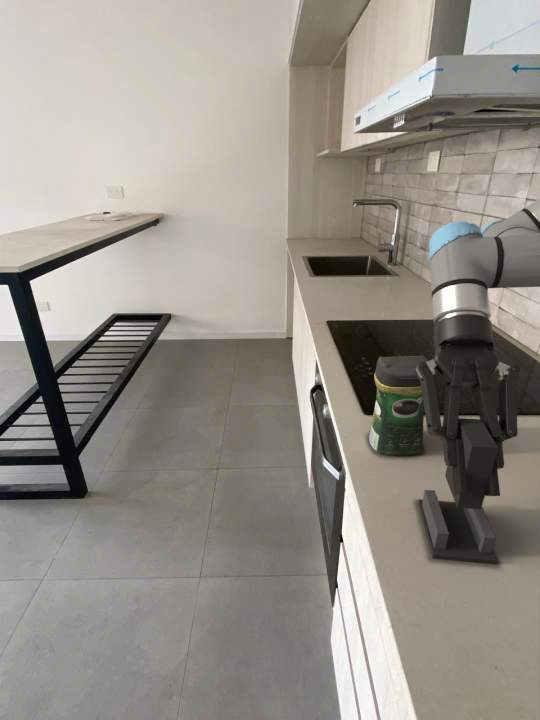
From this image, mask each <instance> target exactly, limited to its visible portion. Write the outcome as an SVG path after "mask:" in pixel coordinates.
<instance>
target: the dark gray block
mask: <svg viewBox="0 0 540 720" xmlns="http://www.w3.org/2000/svg"><path fill="white" fill-rule="evenodd" d="M457 439H458V440H463V443H464V455H465V467H466V477H467V490H468V494H456V493H454V484H453V469H452V466H447V465H446V470H445V475H444V476H445V479H446V481H447V485H448V487H449V490H450V493H451V495H452V498H453V502H455V503H456V506H457V508H469V509H481V508H483V504H484V501H485V497H486V496H485V494H486V490H487V486H488V483H489V479H490V476H491V472H492V469H493V465H494V462H495V458H496V454H497V451H498V446H497V445H496V443H495V441H494V440H493V438H492V436H491V435H490V433H489V431H488V430H487V428H486V427H485V425H484V423H483V422H482V420H481V419H480V418H479V419H478V418H464V417H462V418H461V417H458V428H457V436H456V440H457Z"/></svg>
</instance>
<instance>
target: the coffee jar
mask: <svg viewBox="0 0 540 720" xmlns="http://www.w3.org/2000/svg"><path fill="white" fill-rule="evenodd" d="M422 361H423V362H428V361H429V360H428V358H426V356H425V355H422V354H421V355H407V356H406V355H404V356H378V358H377V361H376V366H375V371H374V373H373V374H374V376H373V378H374V383H375V386H376V397H375V403H374V410H373V414H372V418H371V423H370V426H369V427H370V428H369V435H368V440H369V444H370V446H371V447H372V449H373V450H374V451H375V453H377V454H379V455H381V456H386V457H408V456H415V455H418V454H419V453H421V451H422V450H423V446H424V422H425V421H424V419H425V418H424V417H425V410H424V403H423V396H422V389H421V383H420V381H419V379H418V377H417V375H416V373H415V368H416V367H417V365H418V364H419V363H420V362H422Z"/></svg>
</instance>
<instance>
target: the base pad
mask: <svg viewBox="0 0 540 720" xmlns="http://www.w3.org/2000/svg"><path fill="white" fill-rule="evenodd" d="M423 491H424V492H423V496H422V499H418V501H417V505H418V509H419V512H420V516H421V520H422V524H423V528H424V531H425V536H426V540H427V543H428V547H429V550H430V555H431V558H432V559H435V560H443V561H445V560H446V561H454V562H455V561H456V562H463V563H464V562H465V563H475V564H484V565H485V564H486V565H496V563H497V559H496V556H495V553H494V552H493V549H494V546H495V543H496V541H497V536H496V534H495V532H494V530H493V528H492V526H491V523H490V521H489V518H488V517H487V515H486V512H485V510H484V507H482V508H481V509H469V508H457V506H456V503H455V501H442V500H439V499H438V497H437V493H436V490H433V489H424V490H423Z"/></svg>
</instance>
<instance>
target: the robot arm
mask: <svg viewBox="0 0 540 720" xmlns="http://www.w3.org/2000/svg"><path fill="white" fill-rule="evenodd" d="M428 242H429V243H428V245H429V247H428V249H429V250H428V251H429V252H428V253H429V258H428V259H429V260H428V268H429V276H430V277H429V278H430V290H431V307H432V322H433V324H434V326H433V342H434V354H433V356H432V358H431V359H430V360H428V362H423V361H422V362H420V363H419V364H418V365H417V367H416V368H415V373H416V375H417V377H418V379H419V381H420V383H421V389H422V396H423V403H424V417H425V424H426V430H427V434H428V435H430V436H431V437H432V436H434V437H436V438H439V439H440V440H441V442H442V445H443V446H442V447H443V459H444V460H443V461H444V464H445V465H446V467H447V466H452V469H453V484H454V493H456V494H468V490H467V477H466V467H465V455H464V443H463V440H458V439H457V440H456V436H457V428H458V418H459V417H460V416H459V415H460V403H461V393H462V392H461V391H462V389H463V388H462V387H468V388H470V392H471V393H472V395H473V396H474V401H475V404H476V409H477V412H478V416H479V419H481V420H482V422H483V423H484V425H485V427H486V428H487V430H488V431H489V433H490V435H491V436H492V438H493V440H494V441H495V443H496V445H497V446H498V451H497V454H496V458H495V462H494V465H493V469H492V472H491V476H490V479H489V483H488V486H487V490H486V494H485V497H501V491H500V489H501V488H500V482H499V481H500V479H499V471H498V470H501V469H504V466H505V460H504V459H505V458H504V457H505V456H504V450H503V443H504V441H507V440H511V439H514V438H516V437H517V436H518V432H519V431H518V405H517V403H518V401H517V380H518V377H519V376H520V372H521V367H520V366H519V365H518V364H512V365H508V364H506V363H503V362H502V361H500V359H499V356H498V355H497V353H496V352H495V343H494V342H495V340H494V332H493V324H492V321H491V318H492V314H491V306H490V299H489V292H488V291H489V289H508V288H510V289H512V288H513V289H515V288H540V197H539V198H538V199H537V200H535V201H534V202H532V203H530V204H528V205H527V206H525V207H524V208H522V209H520V210H519V211H517V212H515V213H514V214H512V215H511V216H509V217H507V218H506V219H500V220H495V221H492V222H490V223H487V224H486V225H485V226H483V228H480V226H479V225H477V224H476V223H473V222H471V223H469V222H468V221H467V220H465V221H463V220H462V221H461V220H460V221H453V222H450V223H447V224H444V225H443V226H441V227H440V228H438V229H437V230H435V232H434V233H433V234H432V236H430V239H429V241H428ZM436 371H437V372H438V373H439V374H440V375H441V377H442V378H443V379H444V380H445V386H444V392H445V398H444V409H443V419H441V413H440V406H439V401H438V395H437V394H438V393H437V389H436V388H437V387H436V380H435V376H434V375H435V374H436ZM494 372H496V379H497V380H498V381H499V382H498V413H497V409H496V405H495V402H494V399H493V395H492V391H491V389H492V385H491V381H490V377H491V375H492V374H494Z"/></svg>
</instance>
